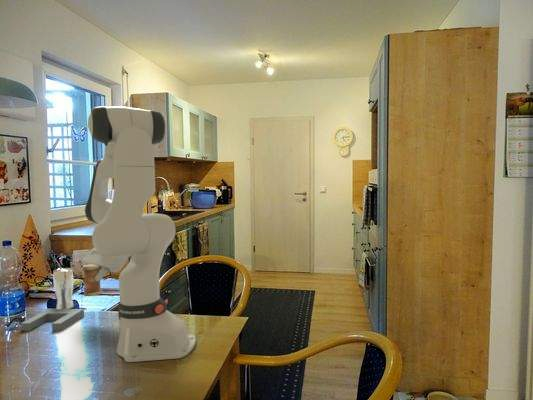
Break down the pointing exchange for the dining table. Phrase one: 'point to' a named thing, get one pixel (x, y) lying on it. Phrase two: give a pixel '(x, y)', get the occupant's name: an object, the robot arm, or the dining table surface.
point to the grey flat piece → (54, 318)
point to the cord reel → (91, 280)
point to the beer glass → (63, 287)
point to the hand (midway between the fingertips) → (90, 279)
